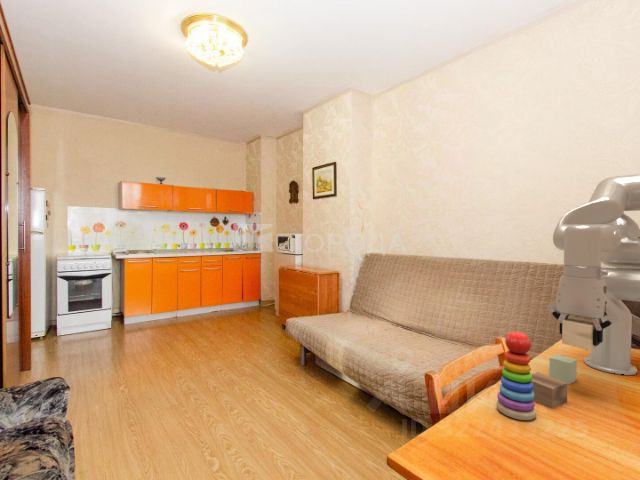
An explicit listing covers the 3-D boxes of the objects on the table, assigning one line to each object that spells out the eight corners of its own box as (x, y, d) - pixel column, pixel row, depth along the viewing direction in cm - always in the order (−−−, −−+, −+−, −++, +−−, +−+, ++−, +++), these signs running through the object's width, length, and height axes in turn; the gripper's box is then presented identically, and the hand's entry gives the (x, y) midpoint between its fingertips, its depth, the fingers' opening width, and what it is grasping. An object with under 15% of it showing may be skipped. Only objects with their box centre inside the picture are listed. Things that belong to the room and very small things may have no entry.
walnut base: (537, 390, 87) (537, 372, 87) (567, 402, 81) (567, 382, 81) (522, 396, 84) (522, 377, 83) (552, 409, 77) (552, 389, 77)
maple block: (570, 338, 89) (571, 317, 89) (598, 345, 84) (599, 322, 84) (562, 343, 85) (562, 320, 85) (590, 350, 81) (591, 326, 80)
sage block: (556, 373, 98) (556, 354, 97) (576, 380, 93) (576, 359, 93) (549, 377, 95) (549, 357, 95) (569, 384, 91) (570, 363, 90)
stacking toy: (542, 424, 71) (545, 339, 71) (503, 419, 72) (505, 336, 72) (527, 405, 79) (529, 329, 78) (491, 401, 80) (493, 326, 80)
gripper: (630, 275, 79) (628, 347, 80) (549, 268, 93) (548, 330, 94) (621, 277, 75) (619, 354, 75) (538, 270, 89) (536, 335, 90)
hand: (580, 340), depth 85 cm, fingers closed on maple block, 6 cm apart
